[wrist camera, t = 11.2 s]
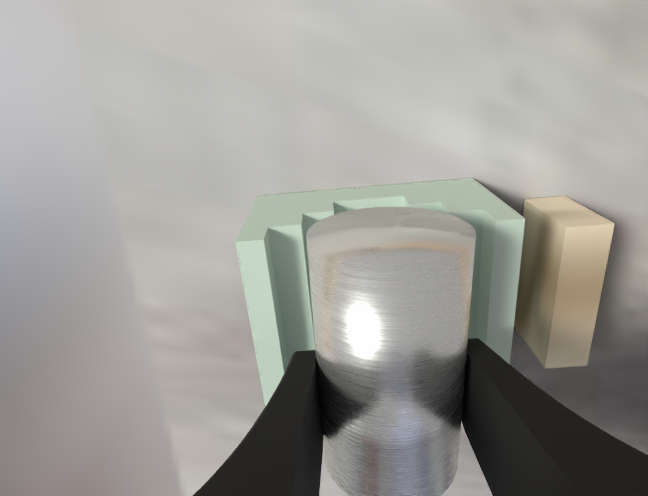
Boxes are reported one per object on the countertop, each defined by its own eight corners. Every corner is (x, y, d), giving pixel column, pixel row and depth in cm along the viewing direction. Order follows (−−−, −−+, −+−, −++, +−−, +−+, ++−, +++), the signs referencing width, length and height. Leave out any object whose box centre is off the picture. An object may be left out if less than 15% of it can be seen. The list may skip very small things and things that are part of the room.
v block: (463, 354, 19) (502, 435, 15) (284, 367, 19) (273, 450, 15) (472, 177, 16) (524, 218, 12) (257, 196, 16) (235, 242, 12)
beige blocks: (703, 308, 18) (771, 352, 15) (511, 322, 18) (545, 368, 16) (742, 181, 16) (830, 206, 13) (524, 199, 16) (565, 227, 13)
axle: (440, 399, 15) (476, 507, 11) (324, 402, 15) (322, 511, 11) (450, 203, 12) (503, 259, 8) (310, 210, 12) (300, 269, 9)
